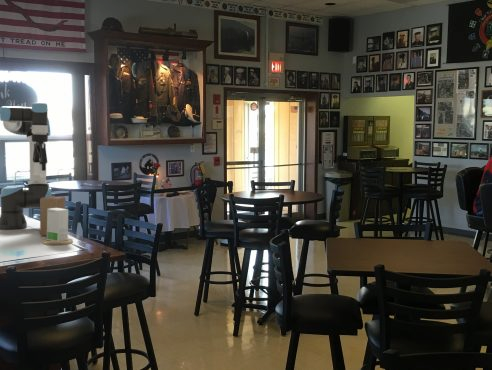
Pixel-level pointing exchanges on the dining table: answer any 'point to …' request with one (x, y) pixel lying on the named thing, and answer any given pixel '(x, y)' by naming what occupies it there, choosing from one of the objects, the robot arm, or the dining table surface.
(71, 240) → the cork trivet
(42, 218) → the wooden block
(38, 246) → the dining table surface
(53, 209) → the skincare box
